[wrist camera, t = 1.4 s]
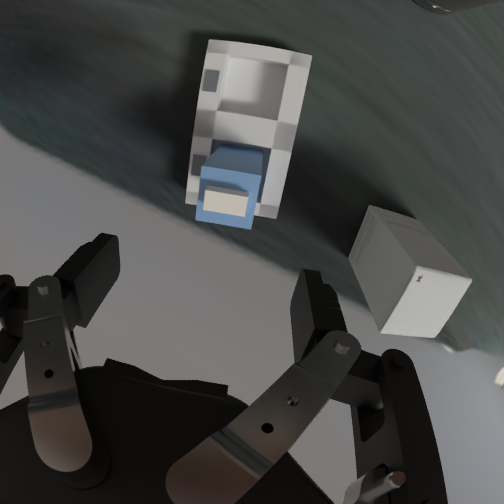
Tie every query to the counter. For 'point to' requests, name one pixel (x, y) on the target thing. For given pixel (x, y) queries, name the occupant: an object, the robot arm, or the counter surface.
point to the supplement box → (405, 274)
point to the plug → (230, 186)
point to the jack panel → (249, 112)
